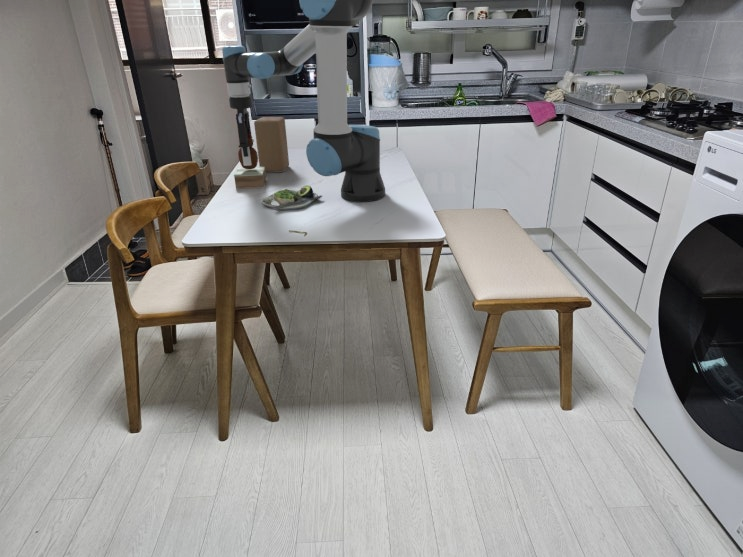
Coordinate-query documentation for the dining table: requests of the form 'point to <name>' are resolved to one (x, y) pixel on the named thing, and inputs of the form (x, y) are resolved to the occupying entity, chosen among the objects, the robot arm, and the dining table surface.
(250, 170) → the plinth
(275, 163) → the block
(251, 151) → the wooden figurine
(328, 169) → the robot arm
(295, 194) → the salad plate
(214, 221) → the dining table surface
